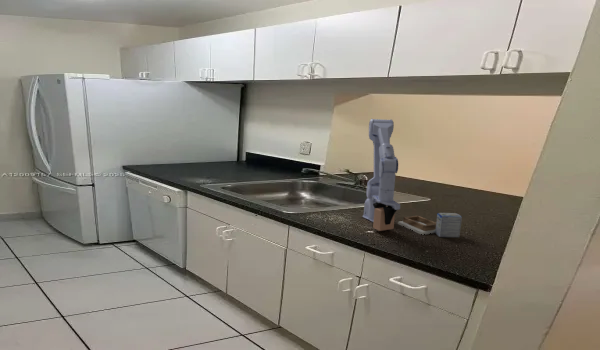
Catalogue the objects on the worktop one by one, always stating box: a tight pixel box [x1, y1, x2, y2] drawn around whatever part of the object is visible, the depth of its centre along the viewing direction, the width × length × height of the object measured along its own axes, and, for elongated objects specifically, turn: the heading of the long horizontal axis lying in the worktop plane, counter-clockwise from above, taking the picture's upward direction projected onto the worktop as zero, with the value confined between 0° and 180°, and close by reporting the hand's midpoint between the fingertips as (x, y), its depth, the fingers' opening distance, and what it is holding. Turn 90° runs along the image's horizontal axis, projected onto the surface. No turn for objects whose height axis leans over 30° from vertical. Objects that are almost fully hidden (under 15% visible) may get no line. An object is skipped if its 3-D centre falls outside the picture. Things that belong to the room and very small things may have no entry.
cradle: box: [397, 215, 437, 236], centre depth 146 cm, size 14×12×3 cm
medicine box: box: [434, 212, 463, 238], centre depth 137 cm, size 8×4×9 cm, turn 92°
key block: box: [372, 207, 396, 232], centre depth 139 cm, size 4×7×8 cm, turn 116°
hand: (383, 222), depth 139 cm, fingers closed on key block, 4 cm apart
